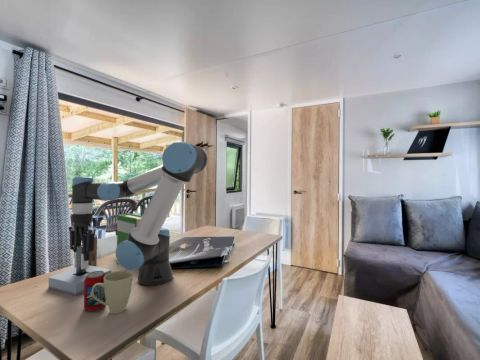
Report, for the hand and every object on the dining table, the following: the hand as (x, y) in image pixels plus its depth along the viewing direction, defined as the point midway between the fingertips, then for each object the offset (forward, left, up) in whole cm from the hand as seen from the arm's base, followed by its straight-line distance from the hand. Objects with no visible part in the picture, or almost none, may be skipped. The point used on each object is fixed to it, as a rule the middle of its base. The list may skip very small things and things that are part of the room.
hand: (81, 267), depth 104 cm
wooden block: (+13, -14, -7) cm, 20 cm away
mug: (-30, +10, -7) cm, 33 cm away
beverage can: (-22, +11, -7) cm, 26 cm away
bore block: (0, 0, -7) cm, 7 cm away
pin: (0, 0, -5) cm, 5 cm away
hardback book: (+6, -34, -7) cm, 35 cm away
